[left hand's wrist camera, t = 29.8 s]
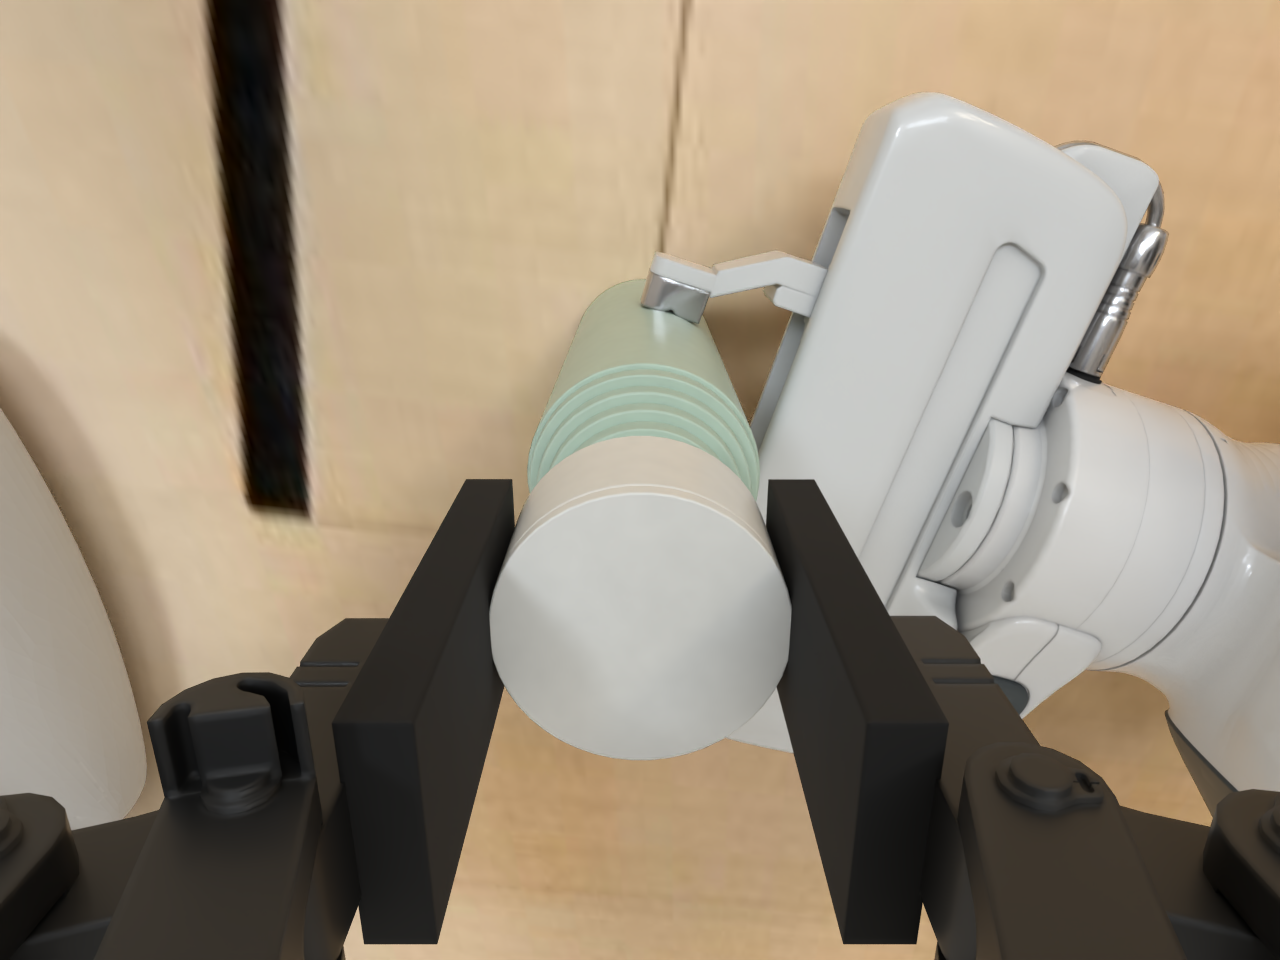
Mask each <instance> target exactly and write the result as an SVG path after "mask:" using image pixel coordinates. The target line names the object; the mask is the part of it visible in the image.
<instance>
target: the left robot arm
mask: <svg viewBox="0 0 1280 960" xmlns="http://www.w3.org/2000/svg"><path fill="white" fill-rule="evenodd" d="M766 528H767V531H768V534H769V537H770V540H771V542H772V545H773V548H774V551H775V554H776V557H777V560H778V563H779V565H780V568H781V571H782V574H783V577H784V580H785V583H786V586H787V588H788V592H789V596H790V601H791V605H792V611H791V628H790V642H789V655H788V662H787V665H786V668H785V670H784V673H783V676H782V678H781V679H780V681H779V683H778V685H777V691H778V695H779V699H780V703H781V706H782V710H783V714H784V718H785V722H786V726H787V729H788V733H789V737H790V741H791V745H792V749H793V753H794V756H795V760H796V764H797V768H798V772H799V776H800V779H801V783H802V787H803V791H804V795H805V799H806V803H807V806H808V810H809V814H810V818H811V822H812V826H813V829H814V833H815V837H816V841H817V845H818V849H819V852H820V856H821V860H822V864H823V868H824V872H825V876H826V879H827V883H828V887H829V891H830V895H831V899H832V902H833V906H834V910H835V914H836V918H837V922H838V926H839V929H840V933H841V937H842V941H843V944H916V943H917V937H918V930H919V923H920V916H921V910H922V903H923V904H924V907H925V909H926V912H927V915H928V917H929V920H930V922H931V925H932V928H933V930H934V933H935V936H936V938H937V947H936V953H935V960H1280V792H1277V791H1268V790H1258V789H1249V790H1244V791H1238V792H1233V793H1229V794H1228V795H1227V796H1226V797H1225V798H1224V799H1222V800H1221V801H1220V802H1219V803H1218V804H1217V806H1216V809H1215V813H1214V816H1213V820H1212V823H1211V827H1208V826H1204V825H1199V824H1194V823H1190V822H1185V821H1180V820H1176V819H1171V818H1167V817H1162V816H1157V815H1153V814H1148V813H1144V812H1140V811H1137V810H1133V809H1130V808H1126V807H1123V806H1120V805H1119V803H1118V801H1117V799H1116V797H1115V795H1114V794H1113V792H1112V791H1111V790H1110V788H1109V787H1108V786H1107V784H1106V783H1105V781H1104V780H1103V779H1102V777H1100V776H1099V775H1098V774H1096V773H1095V772H1094V771H1092V770H1091V769H1090V768H1088V767H1087V766H1085V765H1084V764H1083V763H1081V762H1080V761H1078V760H1076V759H1074V758H1072V757H1069V756H1067V755H1065V754H1063V753H1060V752H1058V751H1056V750H1054V749H1051V748H1046V747H1042V746H1040V745H1039V743H1038V742H1037V740H1036V739H1035V737H1034V736H1033V734H1032V733H1031V731H1030V730H1029V729H1028V727H1027V726H1026V724H1025V723H1024V721H1023V720H1022V718H1021V717H1020V715H1019V714H1018V713H1017V711H1016V710H1015V708H1014V707H1013V705H1012V704H1011V702H1010V701H1009V700H1008V698H1007V697H1006V695H1005V694H1004V692H1003V691H1002V689H1001V688H1000V686H999V685H998V684H995V683H994V678H993V676H992V675H991V673H990V672H989V670H988V669H987V668H986V666H985V665H984V664H981V659H980V657H979V656H978V654H977V653H976V652H975V650H974V649H973V647H972V646H971V644H970V643H969V641H968V640H967V638H966V637H965V636H964V635H963V634H961V633H960V632H958V631H957V630H955V629H954V628H953V627H951V626H950V625H948V624H947V623H945V622H944V621H942V620H941V619H939V618H938V617H936V616H890V615H889V613H888V612H887V610H886V608H885V606H884V604H883V603H882V601H881V599H880V597H879V595H878V594H877V592H876V590H875V588H874V586H873V585H872V583H871V581H870V579H869V577H868V575H867V574H866V572H865V570H864V568H863V566H862V565H861V563H860V561H859V559H858V557H857V556H856V554H855V552H854V550H853V548H852V547H851V545H850V543H849V541H848V539H847V537H846V536H845V534H844V532H843V530H842V528H841V527H840V525H839V523H838V521H837V519H836V518H835V516H834V514H833V512H832V510H831V509H830V507H829V505H828V503H827V501H826V499H825V498H824V496H823V494H822V492H821V490H820V489H819V487H818V485H817V483H816V481H815V480H814V479H768V495H767V514H766ZM514 529H515V522H514V504H513V486H512V479H466V481H465V482H464V484H463V486H462V488H461V490H460V491H459V493H458V495H457V497H456V499H455V500H454V502H453V504H452V506H451V508H450V510H449V511H448V513H447V515H446V517H445V519H444V520H443V522H442V524H441V526H440V528H439V529H438V531H437V533H436V535H435V537H434V538H433V540H432V542H431V544H430V546H429V548H428V549H427V551H426V553H425V555H424V557H423V558H422V560H421V562H420V564H419V566H418V567H417V569H416V571H415V573H414V575H413V577H412V578H411V580H410V582H409V584H408V586H407V587H406V589H405V591H404V593H403V595H402V596H401V598H400V600H399V602H398V604H397V605H396V607H395V609H394V611H393V613H392V615H391V616H390V618H346V619H344V620H343V621H341V622H340V623H338V624H337V625H335V626H334V627H333V628H331V629H330V630H328V631H327V632H325V633H324V634H322V635H321V636H319V637H318V638H317V639H316V640H315V641H314V643H313V644H312V646H311V647H310V649H309V650H308V652H307V653H306V655H305V656H304V657H303V659H302V660H301V662H300V667H297V668H296V669H295V671H294V672H293V674H292V675H291V676H290V678H288V677H284V676H281V675H277V674H273V673H239V674H234V675H229V676H224V677H219V678H214V679H211V680H209V681H206V682H204V683H201V684H199V685H196V686H193V687H191V688H188V689H186V690H184V691H182V692H181V693H179V694H178V695H176V696H175V697H173V698H172V699H170V700H168V701H167V702H165V703H164V704H162V705H161V706H160V707H159V709H158V710H157V711H156V712H155V713H154V714H153V716H152V717H151V718H150V719H149V720H148V721H147V724H148V729H149V733H150V737H151V741H152V745H153V750H154V754H155V758H156V762H157V767H158V771H159V775H160V779H161V784H162V788H163V792H164V796H165V798H164V800H163V803H162V805H161V807H160V809H159V810H157V811H154V812H150V813H147V814H143V815H140V816H136V817H131V818H127V819H122V820H118V821H113V822H108V823H104V824H99V825H94V826H90V827H85V828H81V829H76V830H71V828H70V824H69V821H68V817H67V814H66V810H65V808H64V807H63V806H62V805H61V804H60V803H59V802H57V801H56V800H55V799H54V798H53V797H50V796H45V795H39V794H34V793H21V794H12V795H2V796H0V960H345V953H344V947H343V944H344V942H345V939H346V936H347V934H348V931H349V928H350V926H351V923H352V921H353V918H354V915H355V913H356V910H357V907H358V906H359V913H360V919H361V926H362V933H363V940H364V944H437V943H438V939H439V935H440V932H441V928H442V924H443V920H444V916H445V912H446V908H447V905H448V901H449V897H450V893H451V889H452V885H453V882H454V878H455V874H456V870H457V866H458V862H459V858H460V855H461V851H462V847H463V843H464V839H465V835H466V831H467V828H468V824H469V820H470V816H471V812H472V808H473V805H474V801H475V797H476V793H477V789H478V785H479V781H480V778H481V774H482V770H483V766H484V762H485V758H486V755H487V751H488V747H489V743H490V739H491V735H492V731H493V728H494V724H495V720H496V716H497V712H498V708H499V705H500V701H501V697H502V693H503V689H504V684H503V682H502V680H501V678H500V677H499V674H498V671H497V669H496V666H495V664H494V661H493V657H492V648H491V634H490V618H489V607H490V603H491V599H492V595H493V590H494V587H495V584H496V582H497V579H498V576H499V573H500V570H501V567H502V564H503V561H504V558H505V555H506V553H507V550H508V547H509V544H510V541H511V538H512V535H513V532H514Z"/></svg>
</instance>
